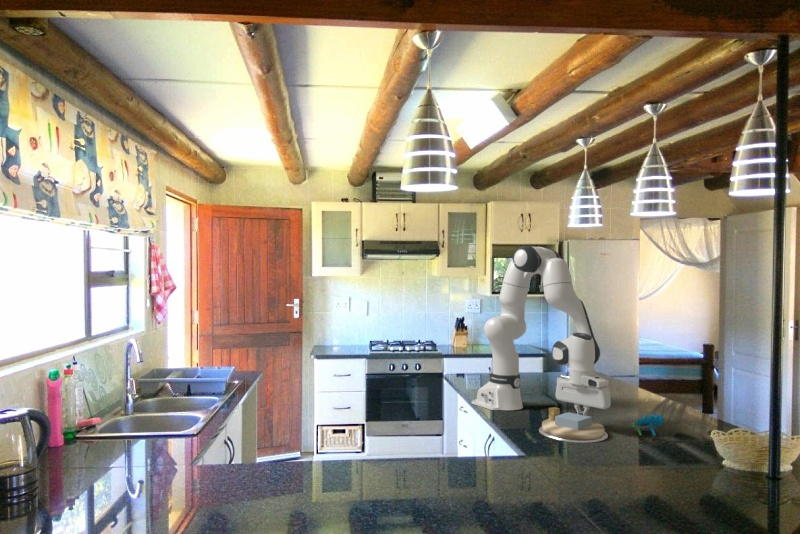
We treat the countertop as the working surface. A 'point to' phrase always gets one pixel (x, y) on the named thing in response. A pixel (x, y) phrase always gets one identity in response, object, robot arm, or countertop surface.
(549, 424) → the turntable
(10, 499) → the countertop surface
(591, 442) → the base
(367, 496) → the countertop surface
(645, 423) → the blue toy animal
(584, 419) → the cover
